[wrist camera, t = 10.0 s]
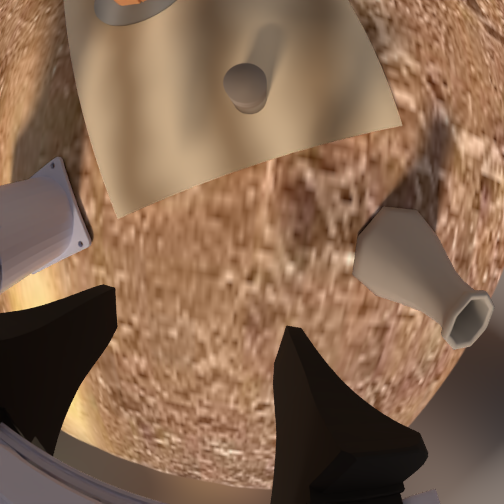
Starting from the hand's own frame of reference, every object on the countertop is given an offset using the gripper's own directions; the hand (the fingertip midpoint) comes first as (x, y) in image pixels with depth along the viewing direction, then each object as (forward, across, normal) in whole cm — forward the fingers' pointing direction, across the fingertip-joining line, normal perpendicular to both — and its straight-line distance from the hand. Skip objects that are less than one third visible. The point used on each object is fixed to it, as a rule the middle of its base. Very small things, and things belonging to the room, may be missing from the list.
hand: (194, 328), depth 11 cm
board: (+9, +4, -16) cm, 19 cm away
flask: (+10, -12, -2) cm, 16 cm away
